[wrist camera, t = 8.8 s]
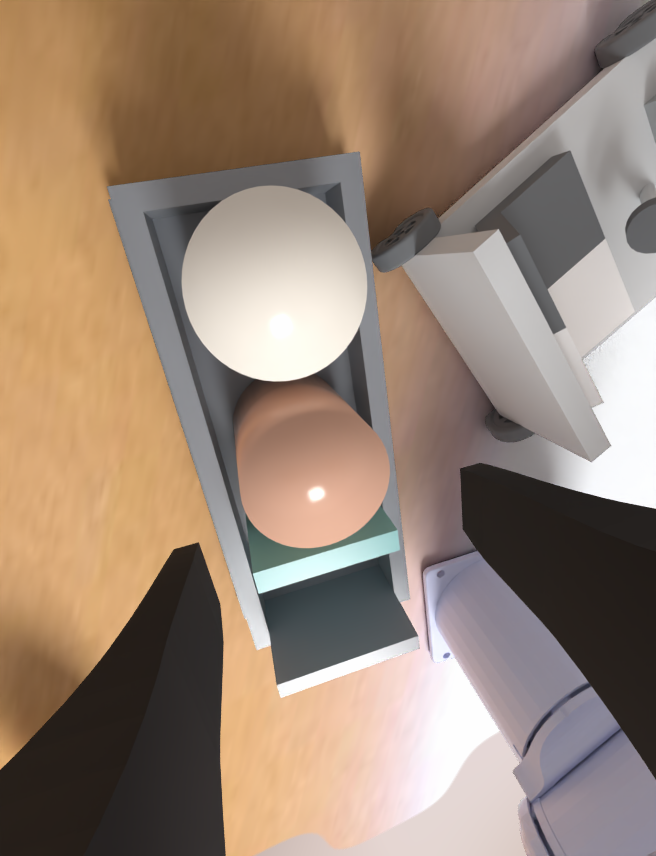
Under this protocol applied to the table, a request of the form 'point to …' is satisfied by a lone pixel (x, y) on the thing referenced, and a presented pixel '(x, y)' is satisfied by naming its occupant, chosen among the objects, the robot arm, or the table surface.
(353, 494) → the jar
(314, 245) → the jar
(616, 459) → the table surface
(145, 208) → the lane
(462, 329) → the toy car
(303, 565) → the block
